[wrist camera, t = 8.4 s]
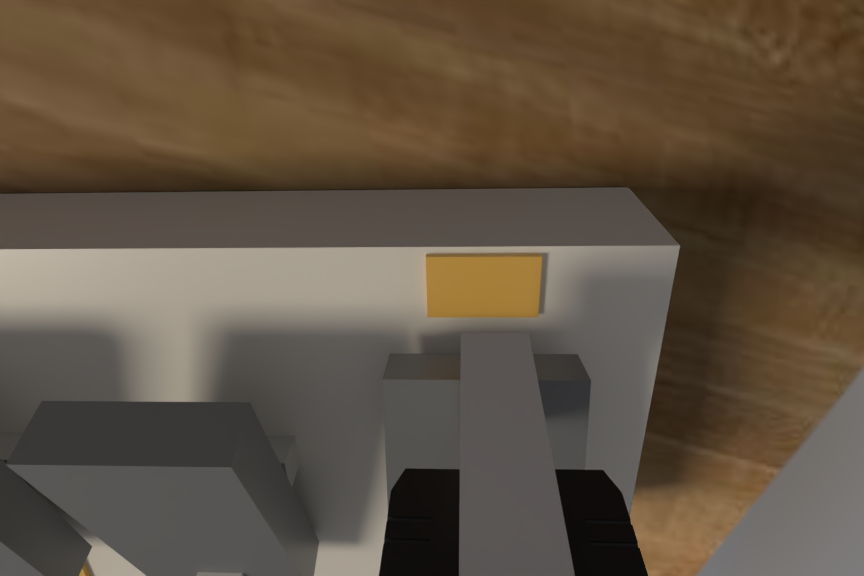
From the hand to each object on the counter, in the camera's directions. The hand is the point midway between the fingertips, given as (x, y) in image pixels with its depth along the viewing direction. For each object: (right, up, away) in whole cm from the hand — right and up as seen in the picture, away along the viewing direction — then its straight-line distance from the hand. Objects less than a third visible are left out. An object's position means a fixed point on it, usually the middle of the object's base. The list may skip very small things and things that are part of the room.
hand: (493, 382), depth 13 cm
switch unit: (-8, -1, +10) cm, 12 cm away
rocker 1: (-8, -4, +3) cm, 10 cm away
